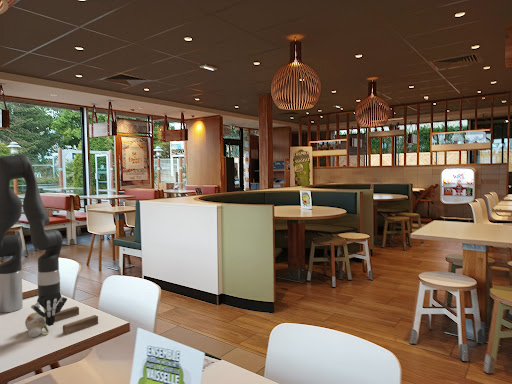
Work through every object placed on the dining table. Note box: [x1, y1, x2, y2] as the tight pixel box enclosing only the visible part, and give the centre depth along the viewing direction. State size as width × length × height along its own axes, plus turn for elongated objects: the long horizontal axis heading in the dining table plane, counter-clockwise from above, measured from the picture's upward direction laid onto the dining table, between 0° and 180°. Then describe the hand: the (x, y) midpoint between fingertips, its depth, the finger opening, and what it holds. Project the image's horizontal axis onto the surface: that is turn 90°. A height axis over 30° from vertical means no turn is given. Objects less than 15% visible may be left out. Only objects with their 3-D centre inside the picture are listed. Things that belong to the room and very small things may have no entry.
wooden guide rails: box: [55, 306, 99, 335], centre depth 150 cm, size 18×13×3 cm
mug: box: [24, 311, 50, 338], centre depth 141 cm, size 8×10×10 cm
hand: (50, 325), depth 143 cm, fingers closed
